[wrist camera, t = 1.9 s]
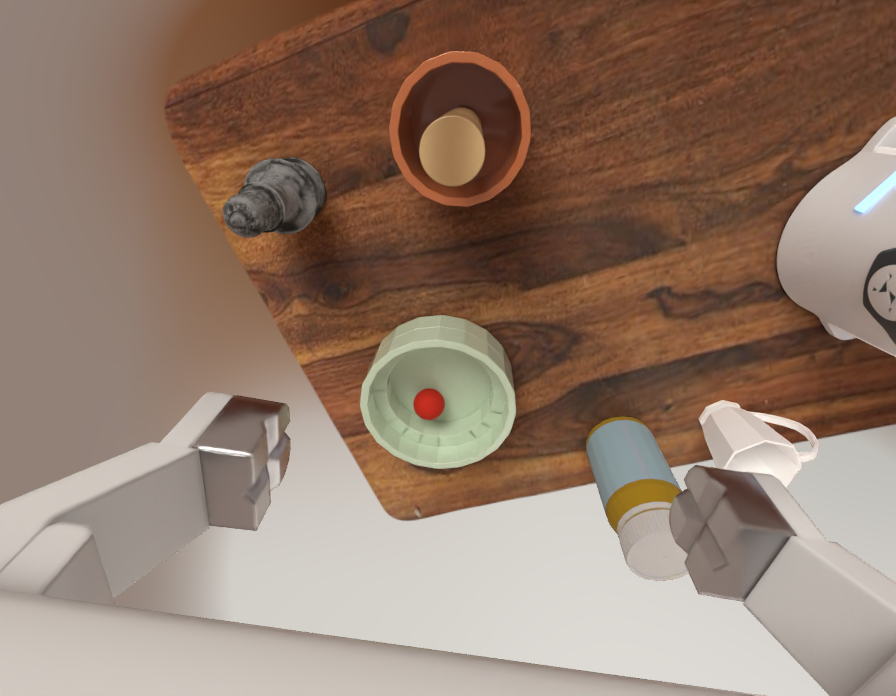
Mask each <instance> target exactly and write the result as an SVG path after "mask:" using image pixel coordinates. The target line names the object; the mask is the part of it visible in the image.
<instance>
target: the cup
mask: <svg viewBox="0 0 896 696" xmlns="http://www.w3.org/2000/svg"><path fill="white" fill-rule="evenodd" d="M698 420H699V422H700V424H701V426H702V428H703V432H704V436H705V440H706V443H707V445H708V447H709V450H710V452H711V454H712V457H713V459H714V462H715V464H716V467H717V468H719V469H726V470H733V471H740V472H754V473H762V474H770V475H773V476H774V477H776V478H777V479H779V480H780V481H781V482H782V484H783V485H784V486H785V488H786V487H787V486H788V485H789V483H790V482H791V481H792V480H793V478H794V477H795V476H796V474H797V473H798V472H799V470H800V469H801V468H802V464H801V462H806V461H810V460H812V459H814V458H816V455H817V452H818V448H819V443H818V441H817V439H816V437H815V435H814V434H813V433H812V432H811V431H810V429H808V428H807V427H805V426H804V425H802V424H800V423H798V422H795V421H793V420H790V419H787V418H782V417H778V416H774V415H769V414H764V413H757V412H749V411H746V410H744V409H741V408H740V406H739V404H738V403H734V402H729V401H725V400H721V401H718V402H716V403H714V404H711V405H709V406H706V407H705V409H704V411H703V412H702V414H701V416H700V418H699V419H698ZM763 421H765V422H770V423H774V424H778V425H782V426H786V427H789V428H792V429H795V430H797V431H798V432H800V433H801V434H803V435H805V436H806V438H807V439H808V440H809V442H810V443H811V445H812V447H813V450H812V451H810V452H797V451H796V449H795V446H794V445H793V444H791V443H790V442H789V441H788V440H786V439H785V438H784V437H782V436H781V435H780V434H778V433H777V432H776V431H774V430H773V429H772V428H771V427H769V426H768V425H767V424H766V423H764V422H763Z"/></svg>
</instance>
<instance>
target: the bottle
mask: <svg viewBox="0 0 896 696" xmlns="http://www.w3.org/2000/svg"><path fill="white" fill-rule="evenodd" d="M586 450H587V455H588V458H589V461H590V465H591V468H592V471H593V474H594V478H595V481H596V484H597V487H598V490H599V494H600V497H601V500H602V503H603V507H604V510H605V513H606V516H607V518H608V521H609V523H610V525H611V527H612V528H613V529H614V531H615V532H616V533H617V534H618V537H619V539H620V544H621V547H622V551H623V554H624V557H625V560H626V563H627V565H628V566H629V568H630V569H631V571H632V572H633V573H635V574H636V575H638V576H639V577H642V578H644V579H648V580H655V581H666V580H673V579H677V578H680V577H683V576H685V575H687V574H689V572H688V570H687V568H686V565H685V563H684V562H685V560H686V557H687V553H686V552H685V551H684V550H683V549H682V548H681V547H679V546H678V545H677V544H676V543H675V540H674V538H673V536H672V533H671V530H670V524H669V514H670V507H671V505H672V502H673V500H674V498H675V496H676V495H678V494H679V493H681V492H682V491H681V489H680V487H679V485H678V483H677V481H676V479H675V478H674V476H673V474H672V472H671V469H670V468H669V466H668V464H667V462H666V460H665V458H664V456H663V454H662V452H661V450H660V448H659V446H658V444H657V442H656V440H655V439H654V437H653V435H652V433H651V431H650V430H649V428H648V427H647V426H646V425H645V424H644V423H643V422H642V421H640V420H637V419H635V418H632V417H623V416H622V417H613V418H610V419H607V420H604V421H602V422H601V423H599V424H598V425H596V426H595V427H594V428H593V429H592V430H591V432H590V433H589V435H588V437H587V440H586Z"/></svg>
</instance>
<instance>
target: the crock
mask: <svg viewBox="0 0 896 696" xmlns="http://www.w3.org/2000/svg"><path fill="white" fill-rule="evenodd" d="M459 106H466V107H470V108H472V109H473V110H475V111H476V112H477V114H478V115H479V117H480V119H481V124H482V130H483V137H484V143H485V158H484V162H483V165H482V167H481V169H480V171H479V172H478V174H477V175H476V176H475V177H474V178H473V179H472V180H471V181H469V182H467V183H465V184H463V185H460V186H445V185H442V184H439V183H437V182H435V181H434V180H433V179H432V178H430V177H429V175H428V174H427V173H426V172H425V170H424V168H423V166H422V164H421V160H420V155H419V147H420V141H421V138H422V136H423V133H424V132H425V130H426V129H427V127H428V126H429V125H430V124H431V123H432V122H434V121H435V120H437V119H438V118H440V117H441V116H443V115H444V114H446V113H448V112H449V111H451V110H452V109H454V108H456V107H459ZM389 135H390V140H391V146H392V152H393V157H394V159H395V161H396V163H397V165H398V166H399V168H400V170H401V172H402V174H403V176H404V178H405V179H406V180H407V181H408V182H409V183H410V184H411V185H412V186H413V187H414V188H415V189H416V190H417V191H418V192H419V193H420V194H422V195H423V196H424V197H426V198H429V199H431V200H433V201H436V202H438V203H440V204H443V205H447V206H472V205H475V204H478V203H481V202H484V201H487V200H490V199H492V198H493V197H494V196H496V195H497V194H498V193H500V192H501V191H502V190H504V189H505V188H506V187H508V186H509V184H511V182H512V181H513V179H514V178H515V176H516V175H517V173H518V172H519V170H520V169H521V167H522V166H523V164H524V162H525V158H526V155H527V151H528V148H529V144H530V140H531V122H530V110H529V106H528V104H527V101H526V99H525V96H524V94H523V91H522V89H521V86H520V85H519V83H518V82H517V81H516V80H515V79H514V77H513V76H512V75H511V74H510V73H509V72H508V71H507V70H506V69H505V68H504V66H503V65H501V64H500V63H498V62H496V61H494V60H492V59H490V58H488V57H486V56H484V55H482V54H480V53H478V52H462V51H451V52H450V51H449V52H446V53H444V54H441V55H439V56H436V57H433V58H431V59H428V60H426V61H424V62H423V63H422V64H421V65H420V66H419V67H418V68H417V69H416V70H415V71H414V72H412V73H411V74H410V75H409V76H408V77H407V78H406V80H405V81H404V83H403V85H402V87H401V89H400V90H399V92H398V94H397V96H396V98H395V100H394V102H393V105H392V112H391V119H390V126H389Z"/></svg>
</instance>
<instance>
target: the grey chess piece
mask: <svg viewBox="0 0 896 696" xmlns="http://www.w3.org/2000/svg"><path fill="white" fill-rule="evenodd" d="M325 196H326V194H325V186H324V183H323V180H322V178H321V176H320V175H319V173H318V171H317V170H316V169H315V168H314V167H313V166H312V165H310V164H309V163H307V162H306V161H304V160H301V159H298V158H293V157H287V158H283V159H272V158H271V159H267V160H263V161H260V162H259V163H257V164H256V165H254V166H253V167H252V168H251V170H250V171H249V172H248V174H247V177H246V179H245V182H244V186H243V187H242V188H241V189H240V191H239V193H238V194H237V195H235V196H233V197H231V198H229V199H228V201H227V202H226V203H225V205H224V208H223V217H224V220H225V222H226V224H227V226H228V227H229V228H230V229H231V230H232V231H233V232H234V233H235V234H237V235H239V236H242V237H255V236H257V235H259V234H261V233H262V232H267V233H268V232H277V233H280V234H292V233H297V232H299V231H301V230H303V229H305V228H306V227H307V226H308V225H309V224H310V223H311V222H312V220H313V218H314V216H316V215H317V214H318V213H319V211H320V210H321V209H322V207H323V205H324V202H325Z"/></svg>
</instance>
